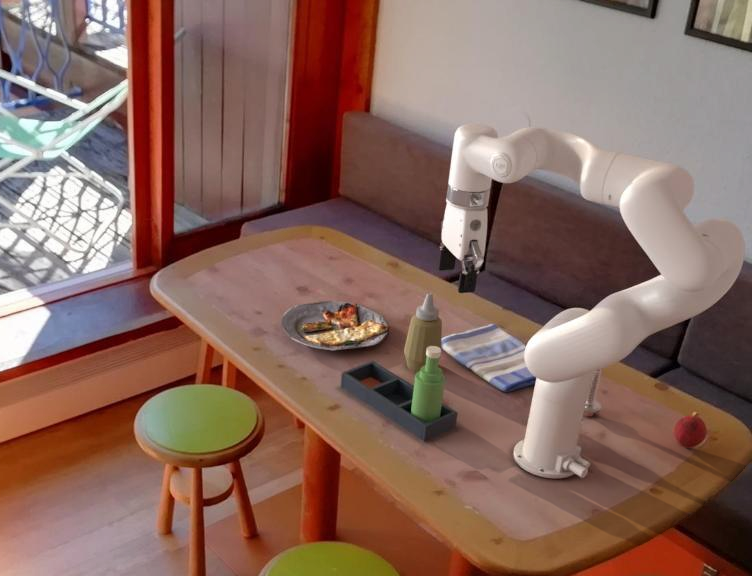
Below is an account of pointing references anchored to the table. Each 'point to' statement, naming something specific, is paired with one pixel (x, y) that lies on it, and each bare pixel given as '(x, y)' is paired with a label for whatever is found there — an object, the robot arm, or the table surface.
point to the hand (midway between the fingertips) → (455, 280)
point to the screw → (593, 396)
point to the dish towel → (491, 356)
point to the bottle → (428, 388)
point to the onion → (690, 430)
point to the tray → (394, 399)
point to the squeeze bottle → (423, 334)
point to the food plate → (334, 325)
